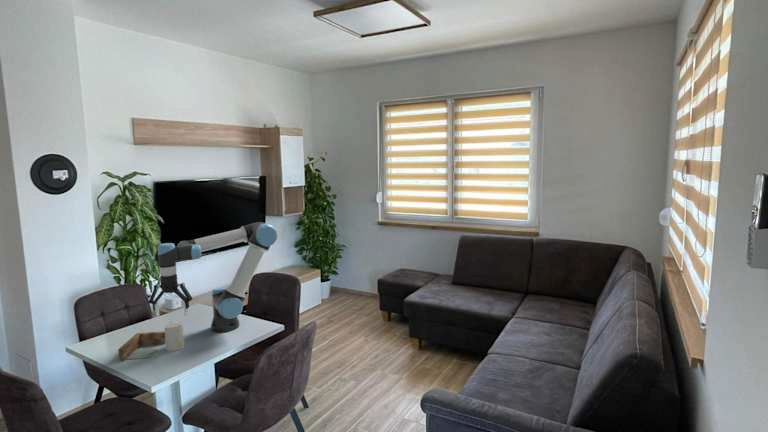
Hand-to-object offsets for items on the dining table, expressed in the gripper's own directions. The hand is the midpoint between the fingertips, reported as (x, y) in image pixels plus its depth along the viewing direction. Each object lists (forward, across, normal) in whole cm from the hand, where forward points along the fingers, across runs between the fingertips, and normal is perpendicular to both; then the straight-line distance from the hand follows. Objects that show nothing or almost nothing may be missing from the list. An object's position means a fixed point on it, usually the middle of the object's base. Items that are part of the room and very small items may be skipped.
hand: (171, 315), depth 212 cm
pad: (+17, +13, +6) cm, 22 cm away
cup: (+17, 0, 0) cm, 17 cm away
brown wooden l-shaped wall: (+17, +14, +3) cm, 22 cm away
